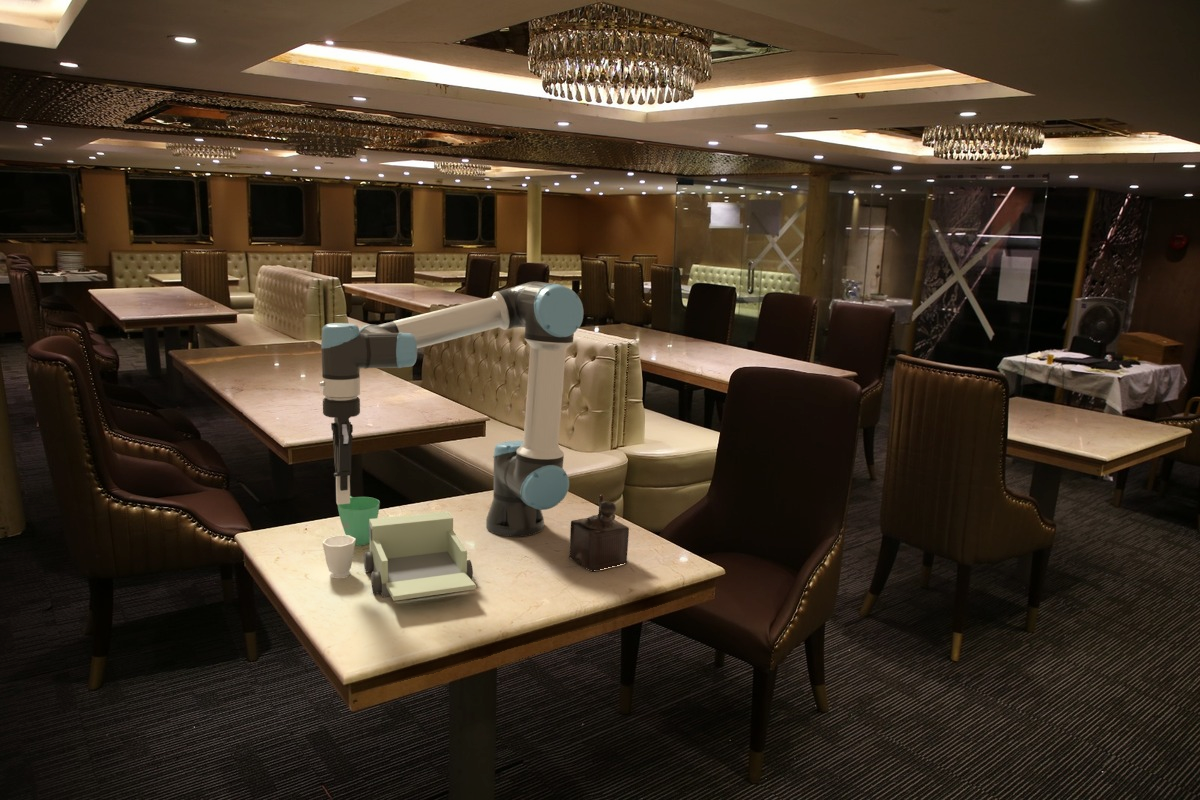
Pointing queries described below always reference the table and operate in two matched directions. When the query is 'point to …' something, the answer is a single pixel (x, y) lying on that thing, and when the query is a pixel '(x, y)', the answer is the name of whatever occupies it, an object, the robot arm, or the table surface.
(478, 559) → the table surface
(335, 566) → the cup
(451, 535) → the pickup truck
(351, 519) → the mug
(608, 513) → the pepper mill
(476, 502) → the table surface
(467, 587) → the panel
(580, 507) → the table surface
